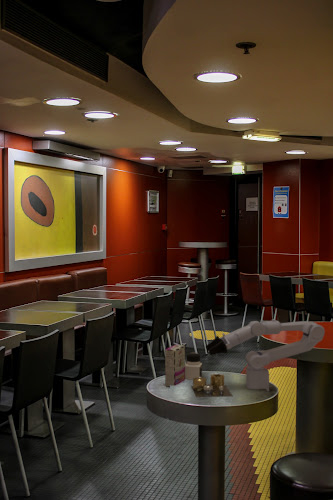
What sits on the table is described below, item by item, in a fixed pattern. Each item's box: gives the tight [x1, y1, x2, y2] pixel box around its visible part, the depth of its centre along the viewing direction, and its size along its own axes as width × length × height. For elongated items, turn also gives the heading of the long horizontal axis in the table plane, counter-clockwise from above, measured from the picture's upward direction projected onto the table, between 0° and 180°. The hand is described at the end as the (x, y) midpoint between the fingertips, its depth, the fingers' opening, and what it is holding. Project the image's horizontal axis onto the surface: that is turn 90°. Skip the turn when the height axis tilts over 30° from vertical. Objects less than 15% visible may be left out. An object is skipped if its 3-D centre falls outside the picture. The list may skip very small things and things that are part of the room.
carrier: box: [190, 376, 234, 398], centre depth 244 cm, size 15×16×6 cm
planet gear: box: [209, 373, 225, 389], centre depth 250 cm, size 6×6×5 cm
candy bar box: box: [164, 344, 186, 388], centre depth 257 cm, size 11×5×16 cm, turn 154°
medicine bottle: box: [185, 352, 203, 381], centre depth 265 cm, size 7×7×12 cm
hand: (207, 350), depth 248 cm, fingers open, 7 cm apart
